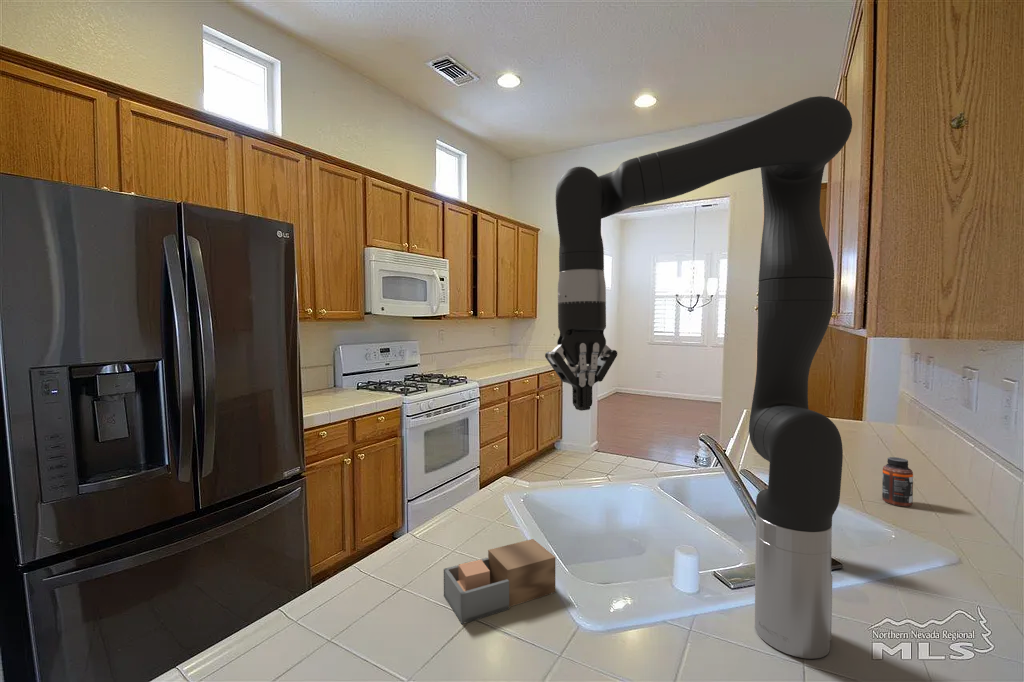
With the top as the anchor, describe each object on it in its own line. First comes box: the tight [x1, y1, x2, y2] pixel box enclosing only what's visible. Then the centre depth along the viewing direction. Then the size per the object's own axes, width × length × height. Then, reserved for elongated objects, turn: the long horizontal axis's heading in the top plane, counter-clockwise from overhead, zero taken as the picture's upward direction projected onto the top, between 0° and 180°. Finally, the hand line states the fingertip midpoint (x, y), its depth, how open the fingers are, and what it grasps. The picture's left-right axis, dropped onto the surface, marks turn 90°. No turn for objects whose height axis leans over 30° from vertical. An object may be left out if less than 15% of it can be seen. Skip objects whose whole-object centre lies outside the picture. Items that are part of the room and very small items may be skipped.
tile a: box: [457, 559, 490, 591], centre depth 74 cm, size 4×4×2 cm
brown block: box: [487, 538, 556, 608], centre depth 77 cm, size 9×8×6 cm
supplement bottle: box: [881, 456, 914, 507], centre depth 116 cm, size 6×6×11 cm
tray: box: [443, 557, 510, 625], centre depth 73 cm, size 8×8×4 cm
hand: (582, 409), depth 72 cm, fingers closed
